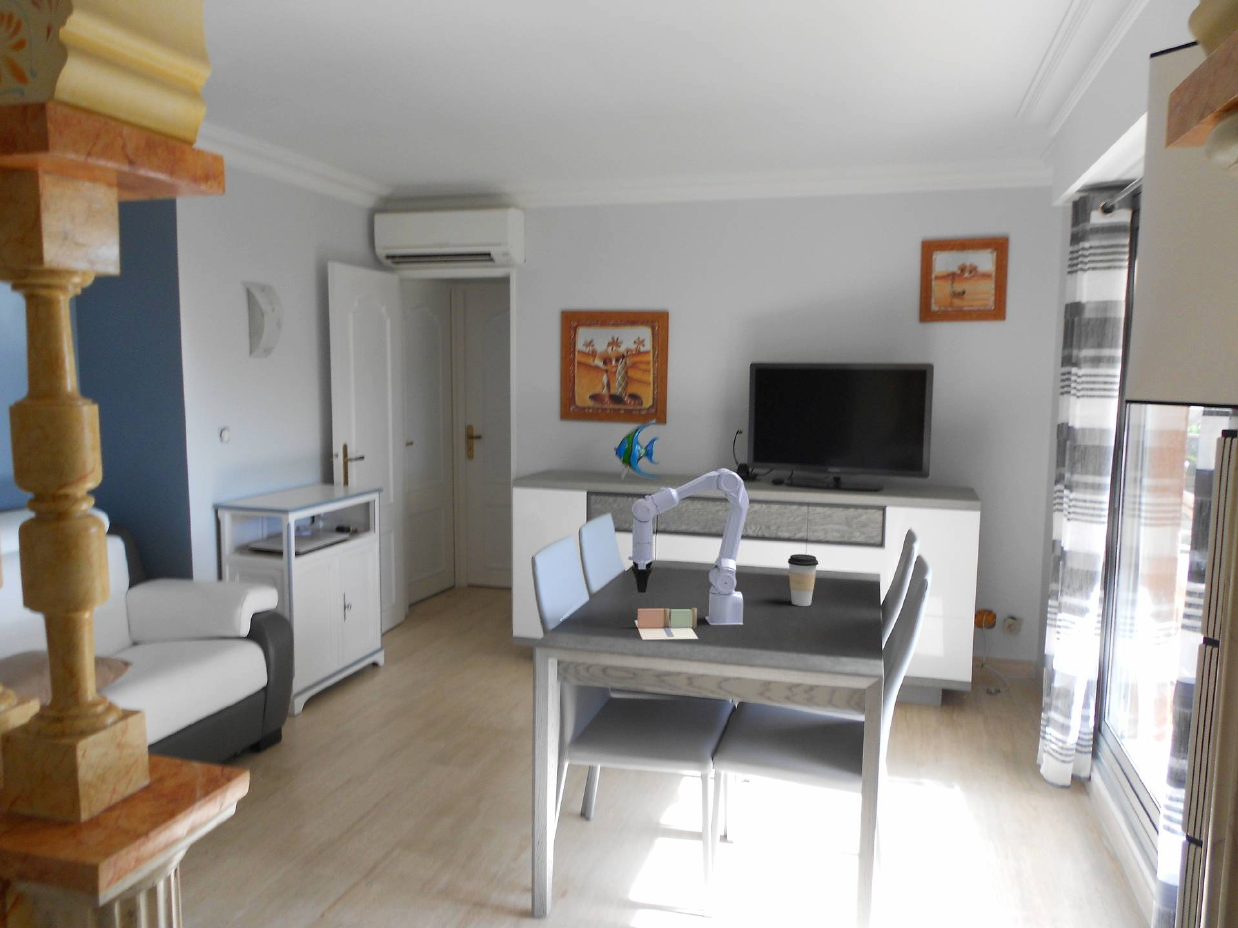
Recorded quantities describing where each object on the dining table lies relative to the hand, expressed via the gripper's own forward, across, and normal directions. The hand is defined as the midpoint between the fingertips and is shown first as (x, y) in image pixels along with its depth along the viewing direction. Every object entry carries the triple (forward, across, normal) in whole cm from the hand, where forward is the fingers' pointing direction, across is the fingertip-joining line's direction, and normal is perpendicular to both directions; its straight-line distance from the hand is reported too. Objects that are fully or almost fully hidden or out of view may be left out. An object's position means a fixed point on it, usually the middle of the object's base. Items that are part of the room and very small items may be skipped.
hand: (642, 589), depth 250 cm
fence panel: (+9, +6, +3) cm, 11 cm away
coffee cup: (+10, -27, +50) cm, 57 cm away
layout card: (+10, +7, +7) cm, 14 cm away
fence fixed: (+10, +5, +12) cm, 16 cm away
